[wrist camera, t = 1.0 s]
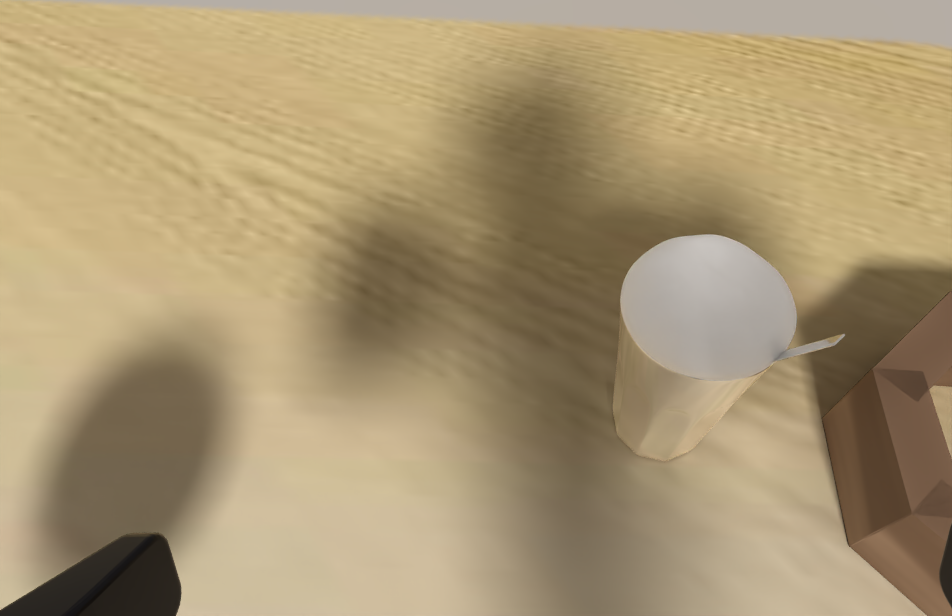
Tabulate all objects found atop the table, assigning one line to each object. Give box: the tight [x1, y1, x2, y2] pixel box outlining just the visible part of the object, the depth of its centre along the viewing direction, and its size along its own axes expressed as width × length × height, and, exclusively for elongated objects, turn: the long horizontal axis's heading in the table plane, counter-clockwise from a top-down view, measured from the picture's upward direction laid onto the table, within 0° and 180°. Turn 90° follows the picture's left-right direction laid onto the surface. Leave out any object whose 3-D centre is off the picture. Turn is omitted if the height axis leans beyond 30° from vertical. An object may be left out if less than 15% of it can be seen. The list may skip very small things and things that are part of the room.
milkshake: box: [612, 234, 845, 461], centre depth 19 cm, size 4×5×10 cm
